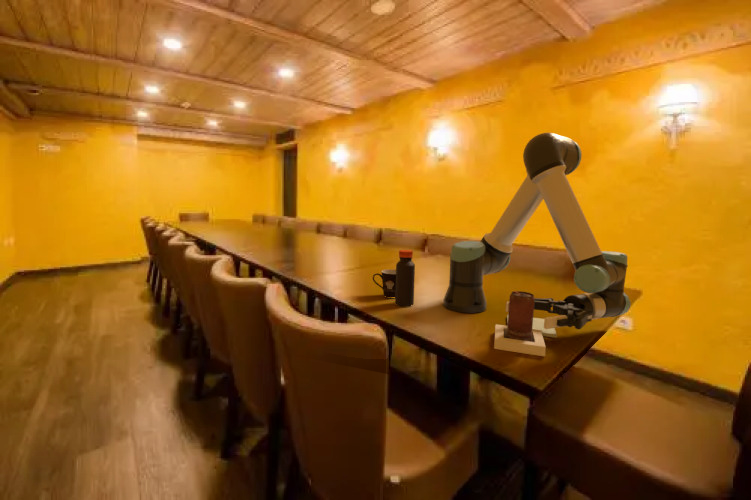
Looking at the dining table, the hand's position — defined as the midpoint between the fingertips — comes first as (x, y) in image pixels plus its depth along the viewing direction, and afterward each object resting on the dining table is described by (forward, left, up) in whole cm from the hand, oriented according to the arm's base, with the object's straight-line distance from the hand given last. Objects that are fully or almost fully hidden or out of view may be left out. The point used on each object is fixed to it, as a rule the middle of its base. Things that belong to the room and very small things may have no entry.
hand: (524, 314), depth 91 cm
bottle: (-39, +22, -9) cm, 46 cm away
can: (-1, 0, -9) cm, 9 cm away
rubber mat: (+3, +15, -8) cm, 17 cm away
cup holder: (-1, 0, -8) cm, 8 cm away
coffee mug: (-48, +31, -9) cm, 58 cm away
